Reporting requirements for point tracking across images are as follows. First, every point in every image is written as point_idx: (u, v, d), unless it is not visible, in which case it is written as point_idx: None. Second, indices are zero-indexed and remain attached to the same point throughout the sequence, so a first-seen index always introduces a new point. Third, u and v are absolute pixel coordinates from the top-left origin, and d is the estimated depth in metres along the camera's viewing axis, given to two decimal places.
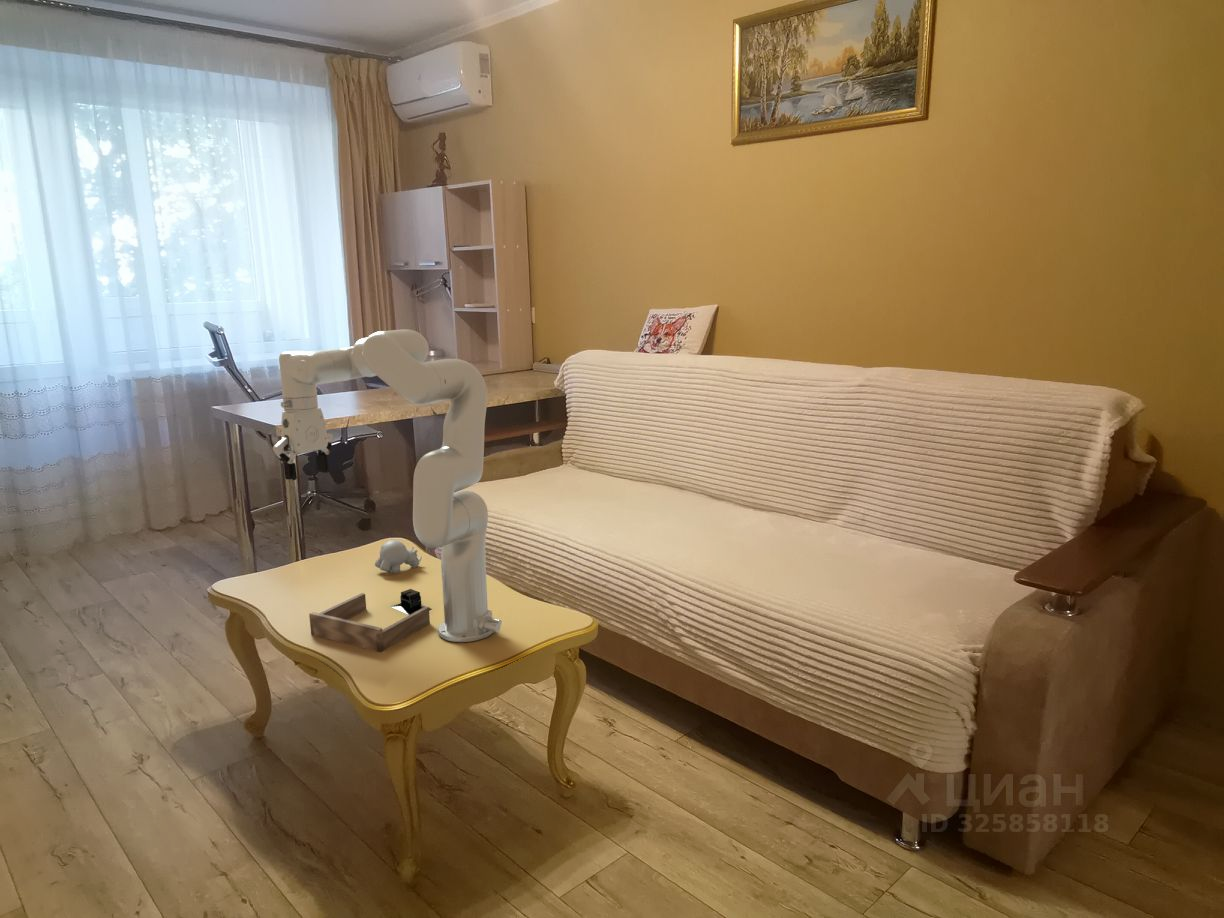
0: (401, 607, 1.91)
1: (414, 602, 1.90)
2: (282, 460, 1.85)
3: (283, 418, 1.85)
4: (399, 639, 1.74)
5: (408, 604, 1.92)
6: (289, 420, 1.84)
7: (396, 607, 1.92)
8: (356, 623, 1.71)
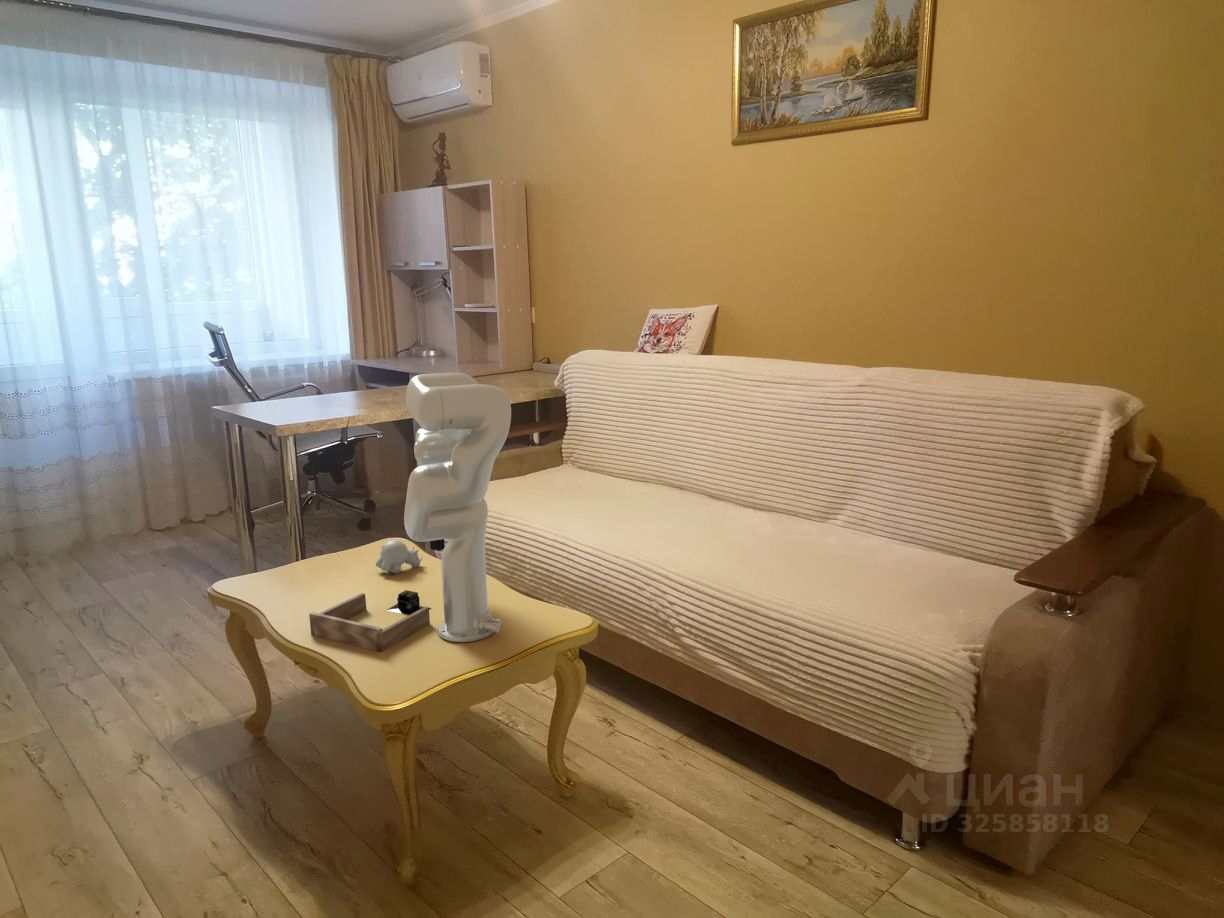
0: (399, 609, 1.90)
1: (414, 603, 1.89)
2: None
3: None
4: (399, 639, 1.74)
5: (405, 605, 1.91)
6: None
7: (393, 610, 1.90)
8: (356, 623, 1.71)
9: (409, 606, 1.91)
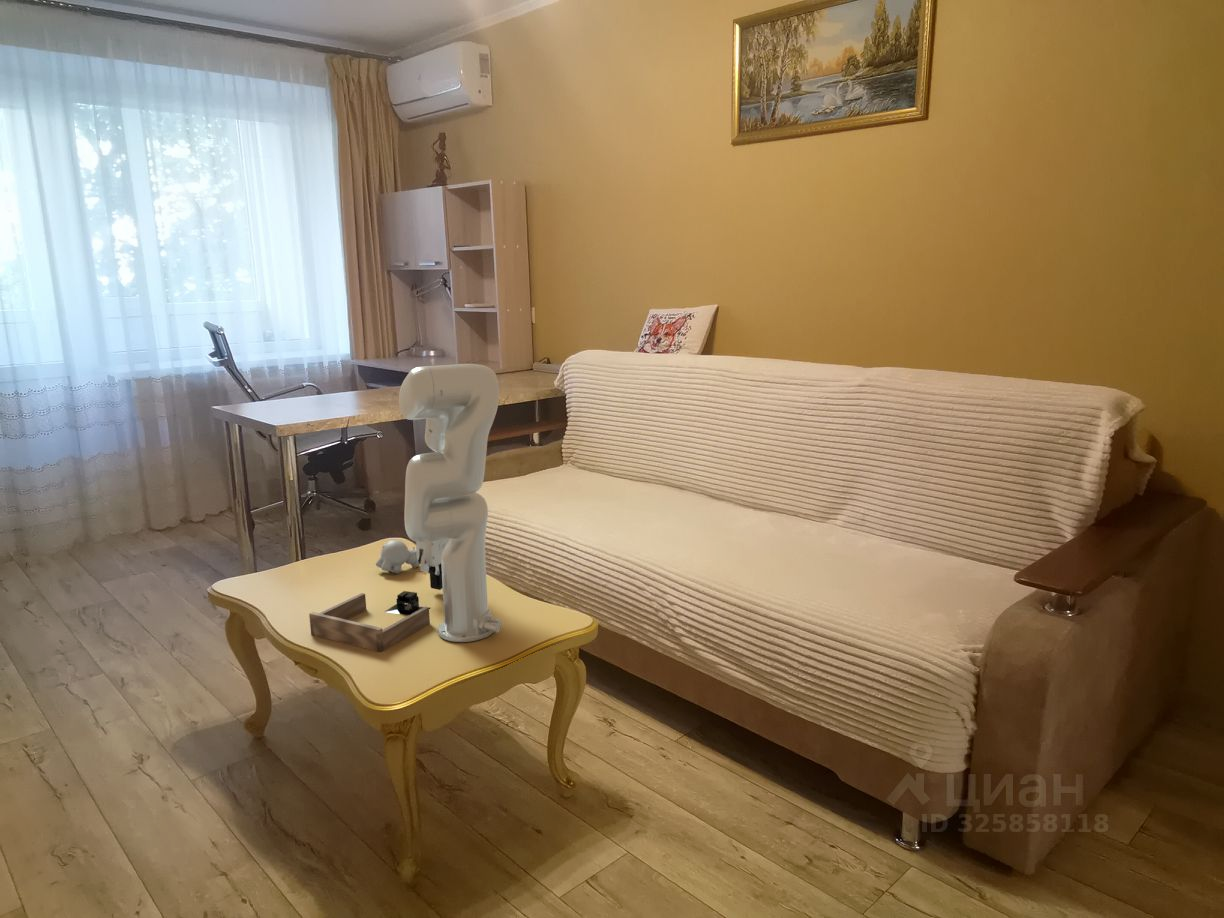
0: (398, 610, 1.89)
1: (414, 603, 1.89)
2: (430, 572, 1.97)
3: None
4: (399, 639, 1.74)
5: (404, 606, 1.91)
6: None
7: (392, 611, 1.89)
8: (356, 623, 1.71)
9: (408, 607, 1.91)
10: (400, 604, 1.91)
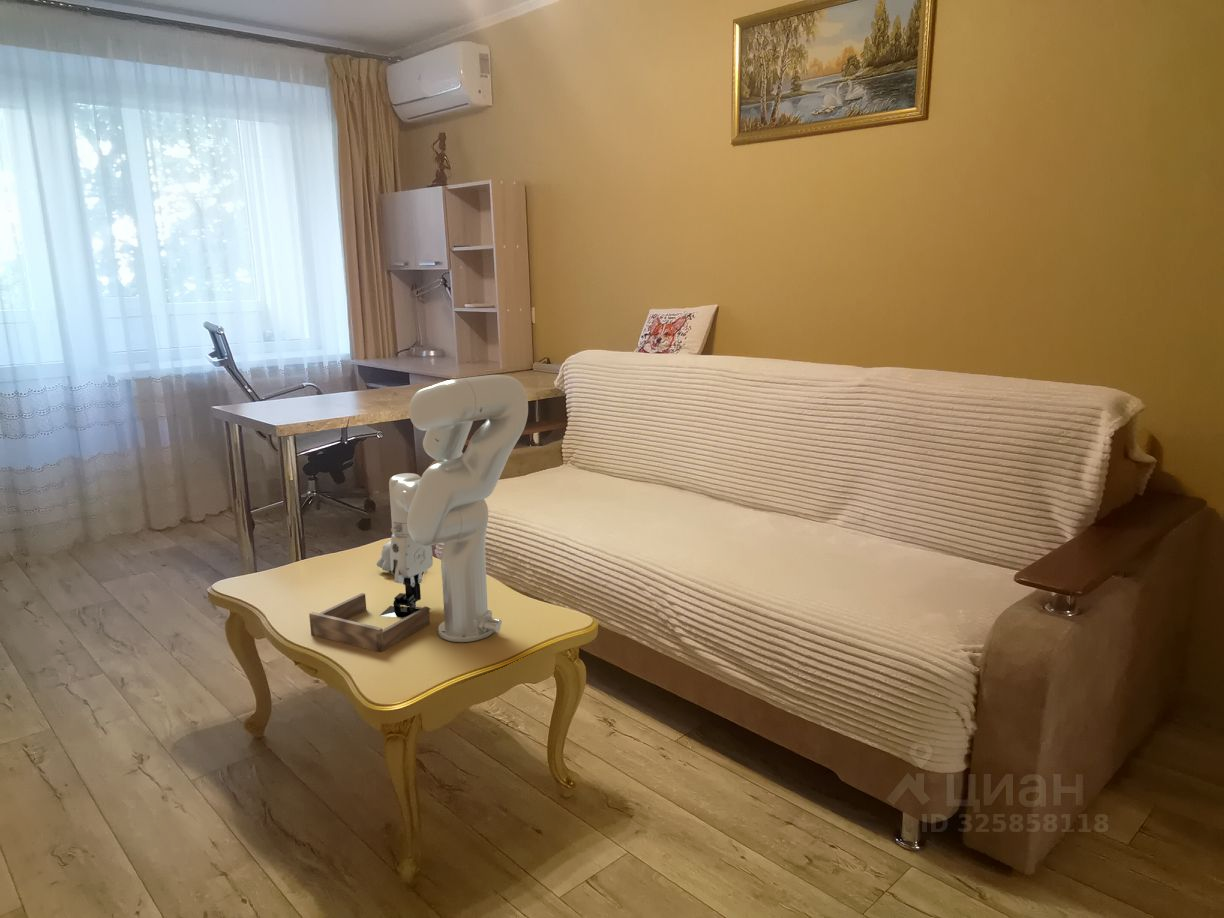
0: (396, 613, 1.88)
1: (412, 604, 1.88)
2: (405, 583, 1.89)
3: (392, 542, 1.86)
4: (399, 639, 1.74)
5: (400, 609, 1.89)
6: (399, 545, 1.84)
7: (389, 614, 1.88)
8: (356, 623, 1.71)
9: (405, 609, 1.89)
10: (397, 606, 1.89)
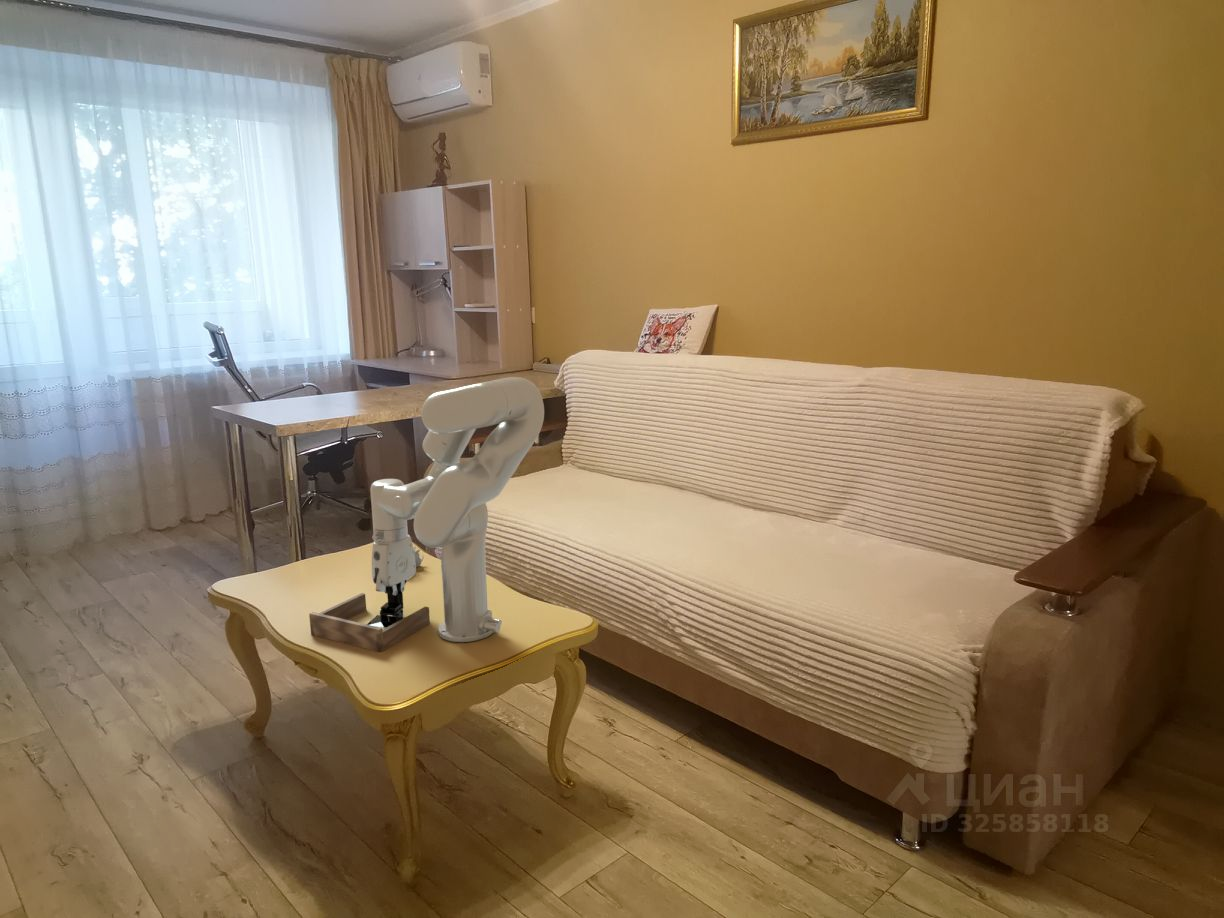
0: (382, 622, 1.82)
1: (399, 614, 1.82)
2: (387, 592, 1.84)
3: (374, 550, 1.80)
4: (399, 639, 1.74)
5: (387, 618, 1.84)
6: (380, 553, 1.79)
7: (376, 624, 1.82)
8: (356, 623, 1.71)
9: (392, 618, 1.84)
10: (383, 616, 1.84)
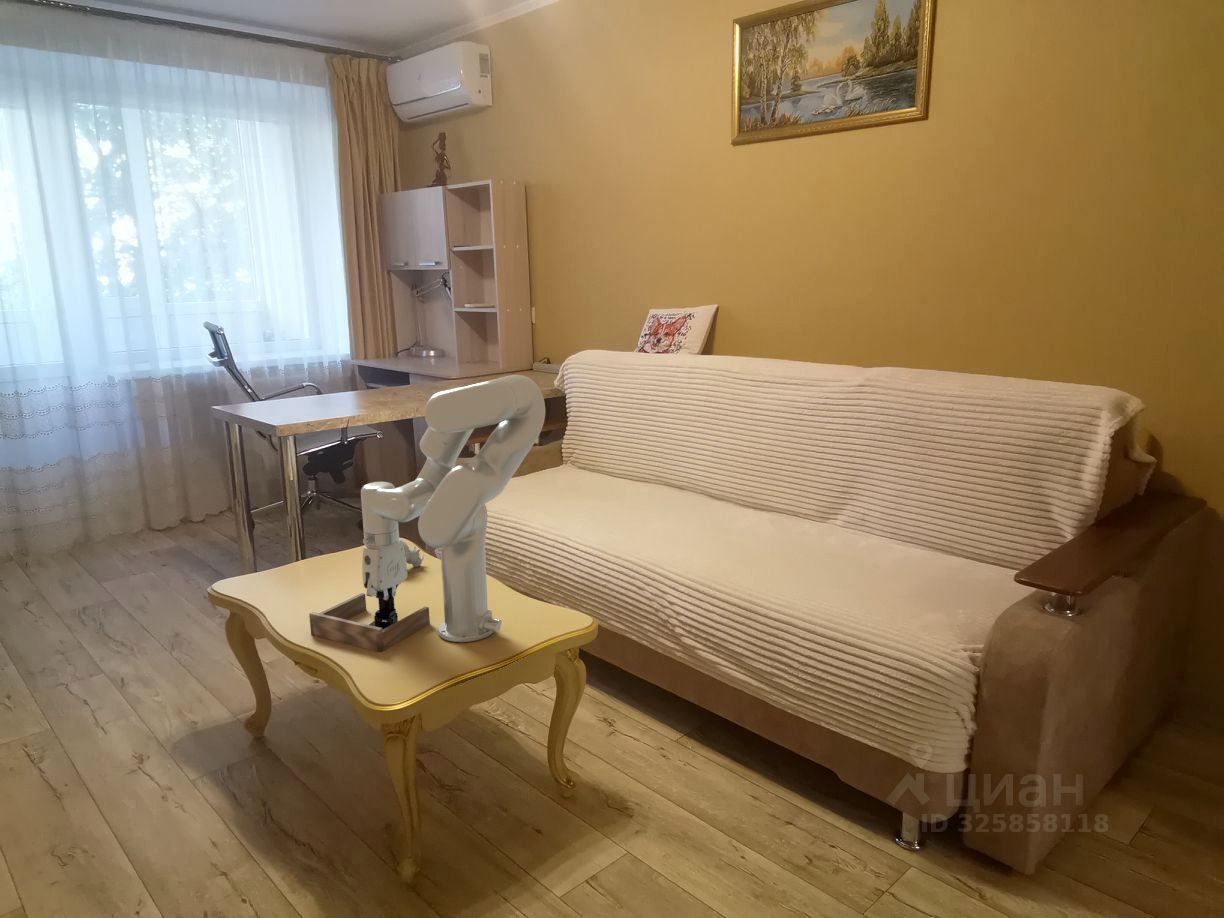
0: None
1: (393, 620, 1.80)
2: (378, 597, 1.81)
3: (364, 554, 1.78)
4: (399, 639, 1.74)
5: (382, 624, 1.81)
6: (371, 557, 1.76)
7: None
8: (356, 623, 1.71)
9: (387, 624, 1.81)
10: (378, 622, 1.81)
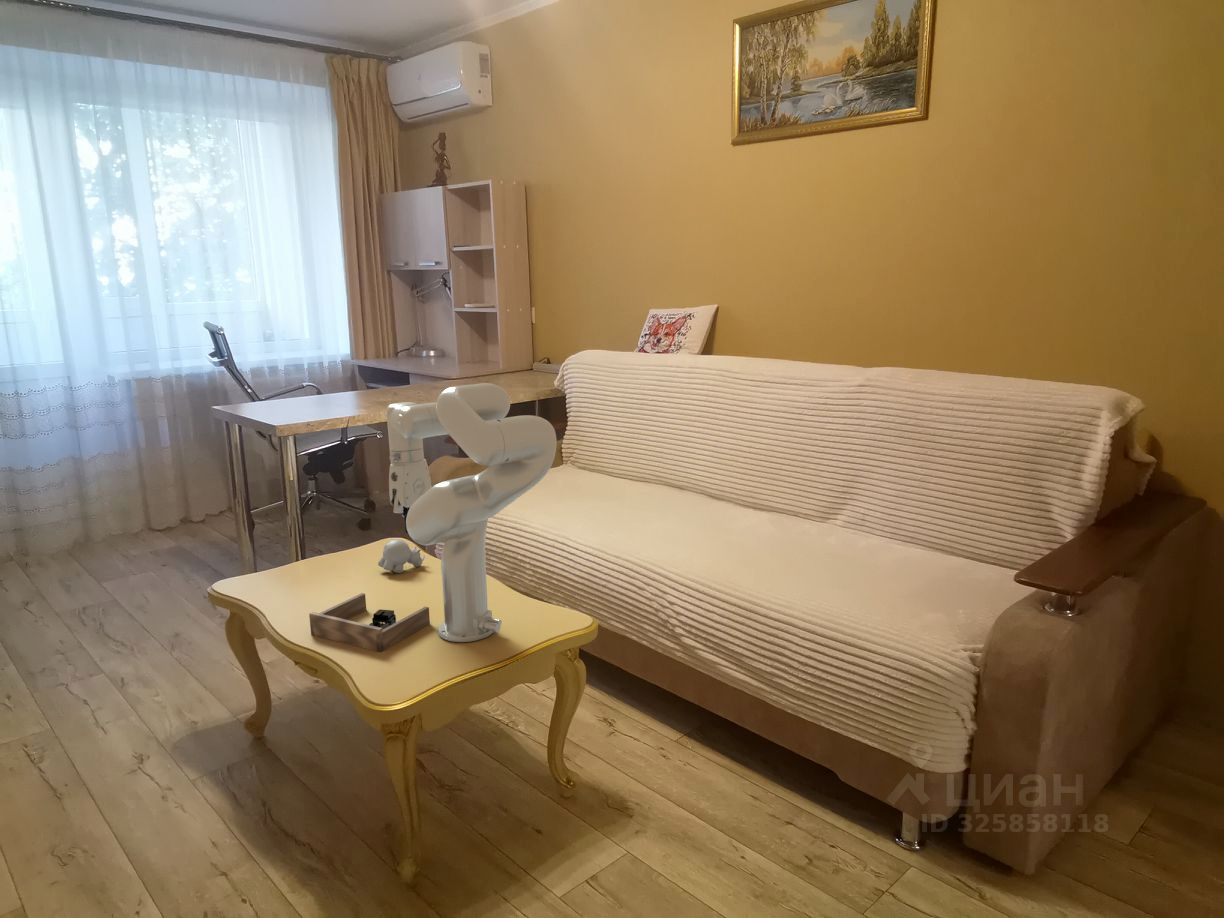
0: None
1: (391, 621, 1.79)
2: (404, 515, 1.86)
3: (391, 471, 1.83)
4: (399, 639, 1.74)
5: (380, 626, 1.80)
6: (398, 473, 1.81)
7: None
8: (356, 623, 1.71)
9: (385, 626, 1.80)
10: (376, 623, 1.80)
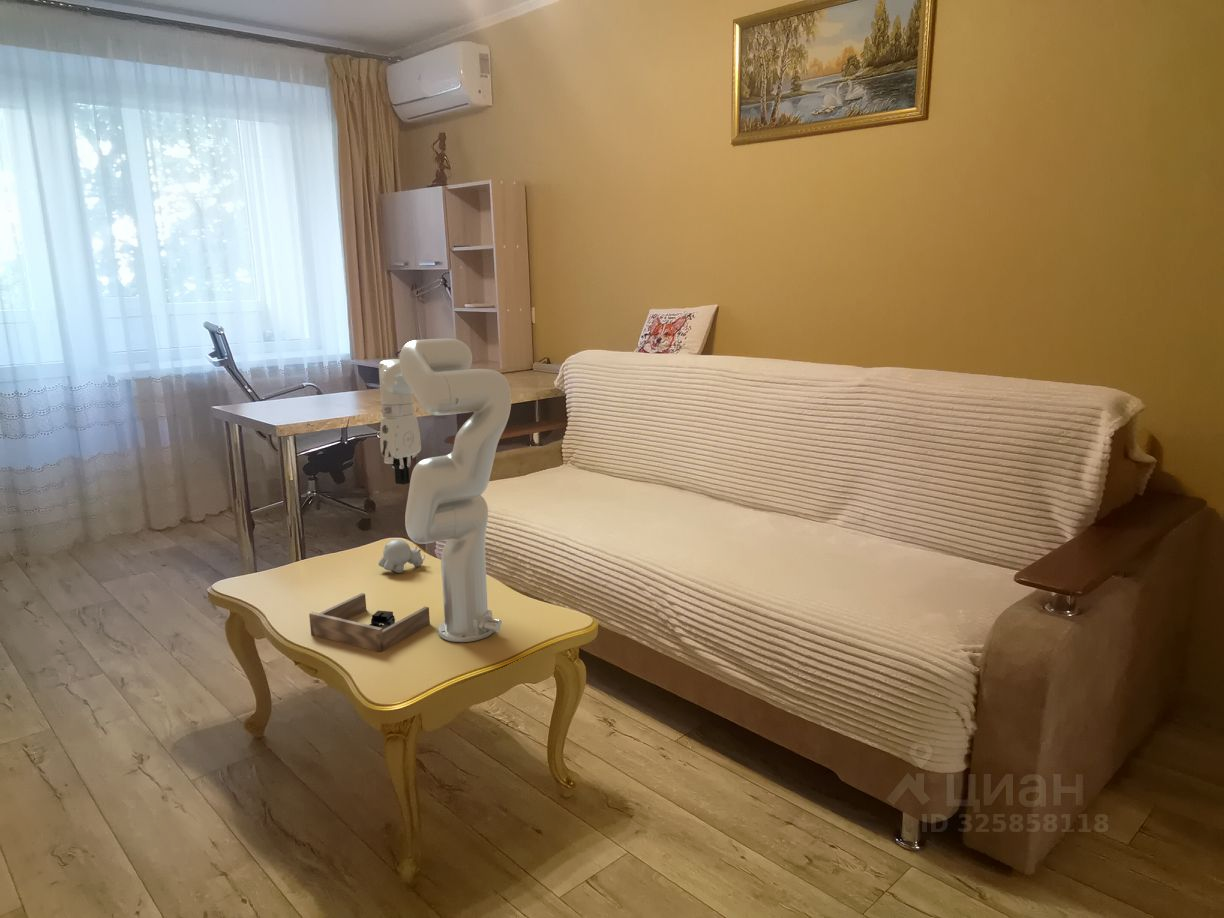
0: None
1: (390, 623, 1.78)
2: (394, 466, 1.97)
3: (382, 424, 1.93)
4: (399, 639, 1.74)
5: None
6: (388, 426, 1.92)
7: None
8: (356, 623, 1.71)
9: (384, 627, 1.79)
10: (375, 625, 1.79)
